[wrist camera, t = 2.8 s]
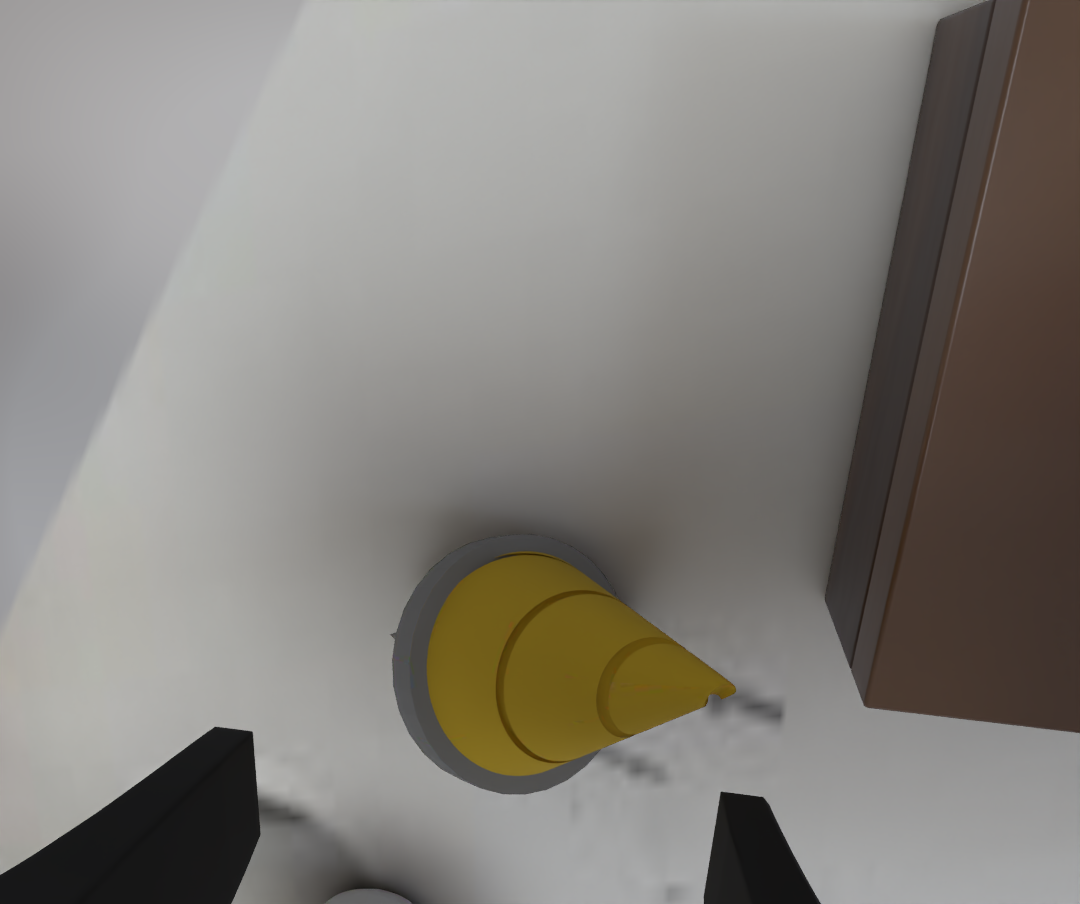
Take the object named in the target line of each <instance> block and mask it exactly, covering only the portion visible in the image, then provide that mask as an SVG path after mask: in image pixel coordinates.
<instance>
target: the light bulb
mask: <svg viewBox="0 0 1080 904" xmlns="http://www.w3.org/2000/svg"><path fill="white" fill-rule="evenodd" d="M324 904H412V903H411V902H410V901H409V900H407V899H406V898H404V897H402V896H400V895H398V894H395V893H391V892H388V891H385V890H381V889H355V890H349V891H346V892H342V893H339V894H338V895H336V896H334V897H332V898H331V899H329V900H328V901H327V902H326V903H324Z"/></svg>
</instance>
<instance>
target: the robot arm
mask: <svg viewBox="0 0 1080 904" xmlns="http://www.w3.org/2000/svg"><path fill="white" fill-rule="evenodd" d="M259 837H260V822H259V809H258V796H257V783H256V770H255V757H254V743H253V732H252V731H244V730H237V729H229V728H221V727H214V728H213V729H211V730H210V731H209V732H207V733H206V734H204V735H203V736H202V737H200V738H199V739H197V740H196V741H195V742H193V743H192V744H191V745H189V746H188V747H187V748H185V749H184V750H183V751H181V752H180V753H178V754H177V755H176V756H174V757H173V758H172V759H170V760H169V761H168V762H166V763H165V764H164V765H162V766H161V767H160V768H158V769H157V770H156V771H154V772H153V773H152V774H150V775H149V776H147V777H146V778H145V779H143V780H142V781H141V782H139V783H138V784H136V785H135V786H134V787H132V788H131V789H129V790H128V791H127V792H125V793H124V794H123V795H121V796H120V797H118V798H117V799H116V800H114V801H113V802H111V803H110V804H109V805H107V806H106V807H104V808H103V809H102V810H100V811H99V812H97V813H96V814H94V815H93V816H91V817H90V818H88V819H87V820H85V821H84V822H82V823H81V824H79V825H78V826H76V827H75V828H73V829H72V830H70V831H69V832H67V833H66V834H64V835H63V836H61V837H60V838H58V839H57V840H55V841H54V842H52V843H51V844H49V845H48V846H46V847H45V848H43V849H42V850H40V851H39V852H37V853H36V854H34V855H33V856H31V857H29V858H28V859H26V860H24V861H23V862H21V863H20V864H18V865H16V866H15V867H13V868H11V869H10V870H8V871H6V872H5V873H3V874H1V875H0V904H231V903H232V901H233V899H234V897H235V894H236V892H237V890H238V887H239V885H240V883H241V880H242V878H243V876H244V874H245V871H246V869H247V866H248V864H249V862H250V859H251V857H252V854H253V852H254V849H255V847H256V844H257V842H258V839H259ZM704 904H821V903H820V902H819V900H818V898H817V897H816V895H815V893H814V891H813V890H812V888H811V886H810V884H809V882H808V881H807V879H806V877H805V875H804V873H803V872H802V870H801V868H800V866H799V864H798V862H797V860H796V858H795V857H794V855H793V853H792V851H791V849H790V847H789V845H788V843H787V841H786V839H785V837H784V835H783V833H782V831H781V829H780V827H779V825H778V823H777V821H776V819H775V816H774V814H773V812H772V810H771V808H770V805H769V804H768V803H767V801H766V800H765V799H764V798H763V797H758V796H750V795H743V794H735V793H727V792H721V794H720V800H719V806H718V813H717V819H716V825H715V831H714V837H713V843H712V850H711V856H710V862H709V868H708V874H707V880H706V886H705V893H704Z"/></svg>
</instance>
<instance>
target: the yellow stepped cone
mask: <svg viewBox="0 0 1080 904" xmlns="http://www.w3.org/2000/svg"><path fill="white" fill-rule="evenodd" d="M390 635H391V636H392V637H393V638H394V639H395V644H394V651H393V658H392V666H393V687H394V691H395V695H396V700H397V704H398V708H399V712H400V714H401V716H402V718H403V721H404V723H405V725H406V727H407V730H408V732H409V734H410V735H411V737H412V738H413V739H414V741H415V742H416V744H417V745H418V746H419V748H420V749H421V751H422V752H423V753H424V754H425V755H426V756H427V757H428V758H429V759H430V760H432V761H433V762H434V763H435V764H436V765H437V766H438V767H440V768H441V769H442V770H444V771H446V772H448V773H450V774H452V775H453V776H455V777H457V778H459V779H461V780H463V781H465V782H468V783H470V784H472V785H474V786H477V787H479V788H482V789H485V790H489V791H493V792H497V793H501V794H529V793H533V792H538V791H542V790H547V789H549V788H551V787H553V786H555V785H558V784H560V783H562V782H564V781H566V780H568V779H569V778H571V777H572V776H573V775H575V774H576V773H577V772H579V771H580V770H581V769H583V768H584V767H585V766H586V765H587V764H588V763H589V762H590V761H591V760H592V759H593V758H594V756H595V755H596V754H597V753H598V752H599V751H600V750H601V749H602V748H604V747H607V746H609V745H612V744H614V743H616V742H619V741H621V740H624V739H626V738H629V737H631V736H634V735H636V734H638V733H641V732H643V731H646V730H648V729H651V728H653V727H656V726H658V725H661V724H663V723H665V722H668V721H670V720H673V719H675V718H678V717H680V716H683V715H685V714H688V713H690V712H692V711H695V710H697V709H700V708H702V707H705V706H706V704H707V702H708V696H709V695H710V694H716V695H718V696H719V697H720V698H721V699H724V698H726V697H728V696H731V695H732V694H734V693H735V692H736V688H735V686H734V685H733V684H732V683H731V682H729V681H728V680H727V679H725V678H724V677H723V676H722V675H720V674H719V673H718V672H716V671H715V670H714V669H712V668H711V667H709V666H708V665H707V664H705V663H704V662H703V661H701V660H700V659H699V658H697V657H696V656H695V655H693V654H692V653H690V652H689V651H687V650H686V649H685V648H684V647H682V646H681V645H680V644H678V643H677V642H676V641H674V640H673V639H672V638H670V637H669V636H667V635H666V634H665V633H663V632H662V631H661V630H659V629H658V628H657V627H655V626H654V625H653V624H651V623H650V622H648V621H647V620H646V619H644V618H643V617H642V616H640V615H639V614H638V613H636V612H635V611H634V610H632V609H631V608H629V607H628V606H627V605H625V604H624V603H623V602H621V601H620V600H619V599H618V598H617V596H616V593H615V592H614V590H613V588H612V587H611V585H610V584H609V582H608V581H607V579H606V578H605V576H604V574H603V573H602V572H601V571H600V570H599V569H598V568H597V567H596V566H595V565H594V564H593V563H592V562H591V561H590V560H589V558H587V557H586V556H584V555H583V554H581V553H580V552H579V551H577V550H576V549H574V548H573V547H572V546H569V545H567V544H565V543H562V542H560V541H558V540H555V539H553V538H549V537H543V536H538V535H532V534H527V535H508V536H500V537H491V538H487V539H483V540H479V541H476V542H472V543H469V544H467V545H465V546H463V547H461V548H459V549H457V550H455V551H454V552H452V553H450V554H448V555H447V556H446V557H445V558H444V559H442V560H441V561H440V562H439V563H437V564H436V565H435V566H434V567H433V568H431V570H430V571H429V572H428V573H427V575H426V576H425V577H424V578H423V579H422V581H421V582H420V583H419V584H418V585H417V587H416V588H415V590H414V592H413V594H412V596H411V597H410V599H409V601H408V603H407V605H406V607H405V608H404V611H403V614H402V617H401V620H400V623H399V626H398V629H397V632H396V633H393V634H390Z"/></svg>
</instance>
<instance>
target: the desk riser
mask: <svg viewBox="0 0 1080 904" xmlns="http://www.w3.org/2000/svg"><path fill="white" fill-rule="evenodd" d="M825 602H826V604H827V607H828V610H829V612H830V615H831V618H832V621H833V623H834V626H835V629H836V631H837V634H838V637H839V639H840V642H841V645H842V647H843V650H844V653H845V655H846V658H847V661H848V664H849V666H850V668H851V669H852V670H851V671H852V675H853V677H854V680H855V683H856V685H857V688H858V691H859V693H860V696H861V699H862V701H863V704H864V706H865V707H868V708H874V709H883V710H891V711H900V712H908V713H916V714H925V715H933V716H942V717H950V718H959V719H967V720H975V721H984V722H992V723H1001V724H1009V725H1017V726H1026V727H1034V728H1043V729H1051V730H1060V731H1068V732H1076V733H1080V0H988V1H985V2H983V3H980V4H978V5H975V6H973V7H970V8H968V9H965V10H963V11H960V12H958V13H955V14H953V15H950V16H948V17H945V18H943V19H940V21H939V23H938V26H937V31H936V36H935V41H934V46H933V51H932V56H931V61H930V66H929V71H928V76H927V82H926V87H925V92H924V97H923V102H922V107H921V112H920V117H919V122H918V127H917V132H916V138H915V143H914V148H913V153H912V158H911V163H910V168H909V173H908V178H907V183H906V188H905V194H904V199H903V204H902V209H901V214H900V219H899V224H898V229H897V234H896V239H895V244H894V249H893V255H892V260H891V265H890V270H889V275H888V280H887V285H886V290H885V295H884V300H883V305H882V311H881V316H880V321H879V326H878V331H877V336H876V341H875V346H874V351H873V356H872V361H871V367H870V372H869V377H868V382H867V387H866V392H865V397H864V402H863V407H862V412H861V417H860V422H859V428H858V433H857V438H856V443H855V448H854V453H853V458H852V463H851V468H850V473H849V478H848V484H847V489H846V494H845V499H844V504H843V509H842V514H841V519H840V524H839V529H838V534H837V540H836V545H835V550H834V555H833V560H832V565H831V570H830V575H829V580H828V585H827V590H826V595H825Z"/></svg>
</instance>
